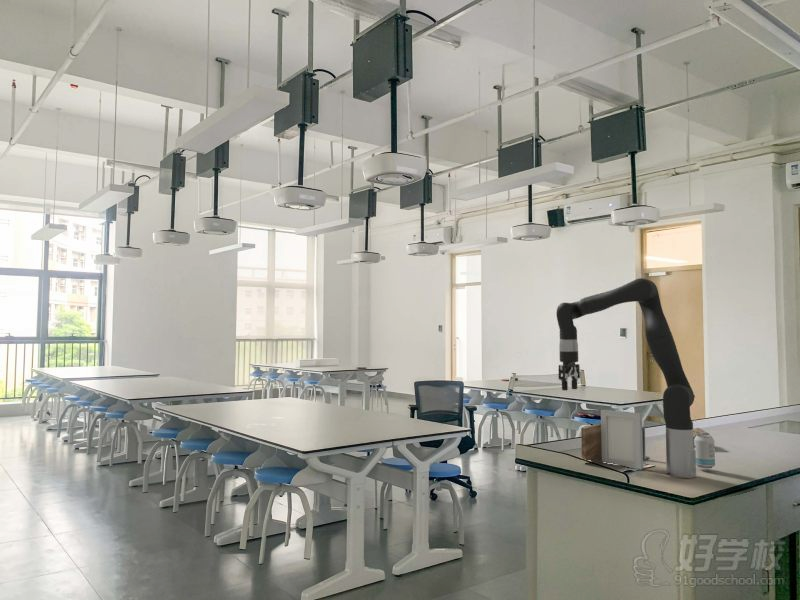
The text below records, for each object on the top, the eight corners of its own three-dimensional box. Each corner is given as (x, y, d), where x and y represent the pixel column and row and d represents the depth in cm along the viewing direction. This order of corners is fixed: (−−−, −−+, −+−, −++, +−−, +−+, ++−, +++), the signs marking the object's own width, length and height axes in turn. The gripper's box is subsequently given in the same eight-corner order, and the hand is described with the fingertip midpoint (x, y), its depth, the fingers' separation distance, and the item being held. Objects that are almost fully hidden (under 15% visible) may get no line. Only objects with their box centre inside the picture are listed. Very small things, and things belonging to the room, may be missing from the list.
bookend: (649, 458, 248) (648, 426, 249) (644, 460, 244) (643, 427, 245) (620, 454, 256) (619, 423, 257) (615, 456, 252) (614, 424, 253)
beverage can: (697, 464, 236) (696, 433, 237) (716, 466, 231) (716, 435, 232) (692, 467, 231) (692, 435, 231) (712, 469, 226) (711, 437, 227)
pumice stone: (683, 443, 285) (683, 425, 286) (711, 445, 280) (711, 427, 281) (683, 447, 273) (682, 429, 273) (712, 449, 268) (712, 431, 268)
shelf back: (614, 454, 255) (614, 421, 256) (585, 464, 234) (584, 428, 235) (611, 454, 256) (610, 420, 257) (581, 464, 235) (581, 427, 236)
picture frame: (601, 463, 237) (600, 410, 238) (605, 462, 239) (604, 409, 240) (640, 469, 226) (639, 413, 227) (644, 468, 228) (642, 413, 229)
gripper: (568, 350, 244) (570, 391, 243) (584, 350, 254) (586, 389, 253) (552, 350, 249) (553, 390, 248) (568, 350, 259) (569, 388, 258)
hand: (569, 389), depth 250 cm, fingers open, 8 cm apart
